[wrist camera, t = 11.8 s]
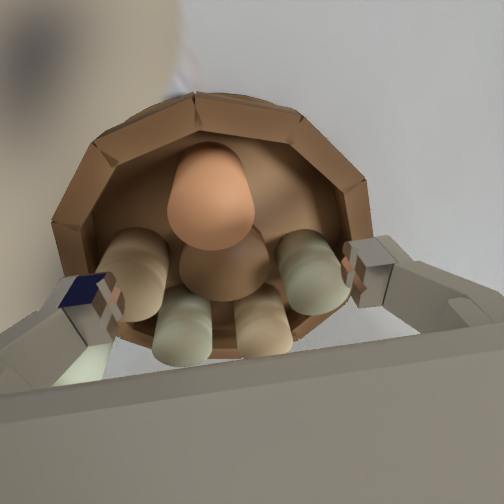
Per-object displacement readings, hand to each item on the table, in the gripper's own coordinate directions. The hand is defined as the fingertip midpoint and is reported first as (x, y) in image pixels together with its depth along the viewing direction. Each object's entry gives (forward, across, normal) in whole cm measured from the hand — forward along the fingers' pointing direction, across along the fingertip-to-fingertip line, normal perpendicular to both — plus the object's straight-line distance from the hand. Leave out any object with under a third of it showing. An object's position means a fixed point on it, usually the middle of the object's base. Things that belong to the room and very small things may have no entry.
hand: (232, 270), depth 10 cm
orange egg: (+9, +1, 0) cm, 9 cm away
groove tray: (+10, +1, +5) cm, 11 cm away
